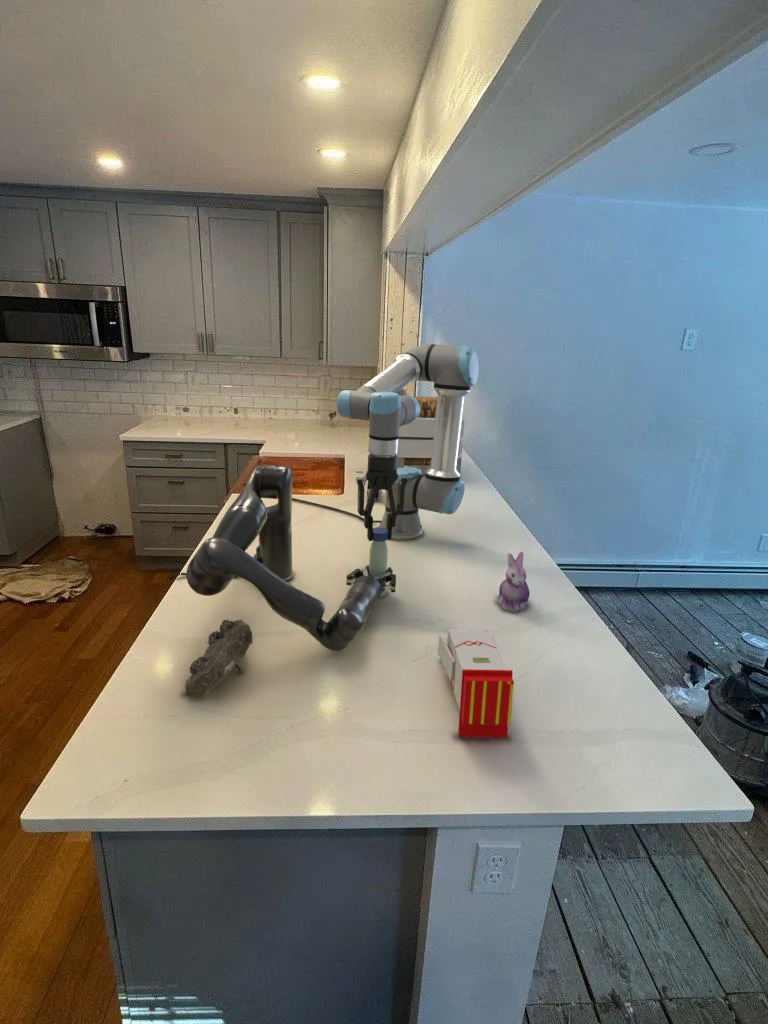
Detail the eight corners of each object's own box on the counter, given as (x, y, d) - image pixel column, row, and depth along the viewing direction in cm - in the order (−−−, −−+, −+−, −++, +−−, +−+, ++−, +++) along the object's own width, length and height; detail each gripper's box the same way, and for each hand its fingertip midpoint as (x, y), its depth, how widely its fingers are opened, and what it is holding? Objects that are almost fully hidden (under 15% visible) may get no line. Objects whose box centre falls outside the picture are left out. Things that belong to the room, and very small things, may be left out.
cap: (390, 537, 154) (390, 528, 153) (384, 543, 150) (384, 534, 149) (374, 534, 155) (374, 526, 154) (367, 540, 151) (368, 531, 150)
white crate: (382, 463, 289) (386, 382, 275) (445, 464, 293) (451, 384, 279) (390, 482, 257) (394, 392, 243) (460, 483, 261) (468, 394, 247)
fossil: (205, 622, 132) (252, 592, 127) (234, 650, 134) (280, 621, 129) (164, 690, 112) (217, 657, 107) (198, 721, 115) (251, 691, 110)
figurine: (511, 616, 149) (518, 564, 143) (487, 598, 157) (493, 549, 152) (539, 609, 153) (547, 558, 148) (514, 592, 161) (521, 544, 156)
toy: (488, 613, 130) (523, 677, 101) (484, 667, 133) (517, 744, 104) (435, 612, 130) (455, 676, 101) (432, 666, 133) (451, 743, 103)
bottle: (367, 588, 160) (370, 529, 154) (385, 588, 160) (388, 529, 154) (368, 596, 156) (370, 535, 149) (386, 597, 156) (389, 536, 150)
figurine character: (382, 506, 231) (382, 491, 244) (383, 489, 227) (382, 474, 241) (366, 505, 230) (366, 490, 244) (366, 488, 227) (367, 474, 240)
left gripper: (335, 604, 146) (355, 576, 161) (389, 614, 142) (404, 584, 158) (336, 578, 143) (356, 552, 159) (391, 587, 140) (406, 560, 155)
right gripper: (411, 450, 150) (406, 531, 158) (346, 451, 146) (344, 535, 154) (420, 457, 143) (414, 542, 151) (351, 458, 139) (349, 546, 147)
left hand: (380, 568), depth 158 cm, fingers closed on bottle, 5 cm apart
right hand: (379, 538), depth 152 cm, fingers closed on cap, 5 cm apart
